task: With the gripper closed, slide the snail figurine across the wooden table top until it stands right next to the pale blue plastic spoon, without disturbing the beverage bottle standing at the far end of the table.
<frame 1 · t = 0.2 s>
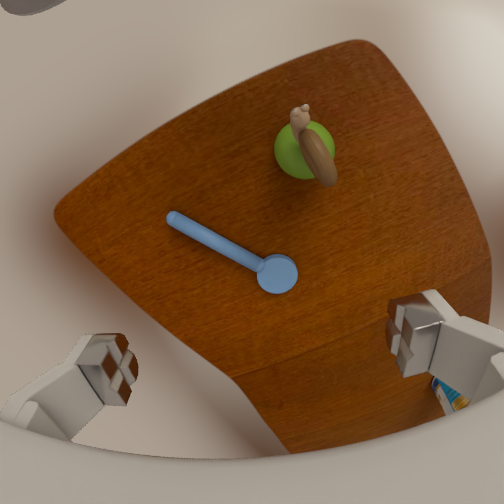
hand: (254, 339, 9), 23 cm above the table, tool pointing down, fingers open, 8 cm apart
blue spoon: (241, 252, 33), on the table
beverage bottle: (449, 373, 42), on the table
snail figurine: (297, 143, 28), on the table
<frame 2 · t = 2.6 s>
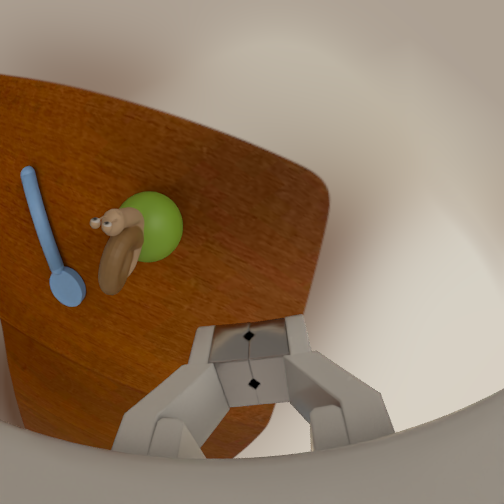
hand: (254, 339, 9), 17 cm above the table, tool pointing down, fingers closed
blue spoon: (54, 246, 26), on the table
snail figurine: (160, 210, 25), on the table
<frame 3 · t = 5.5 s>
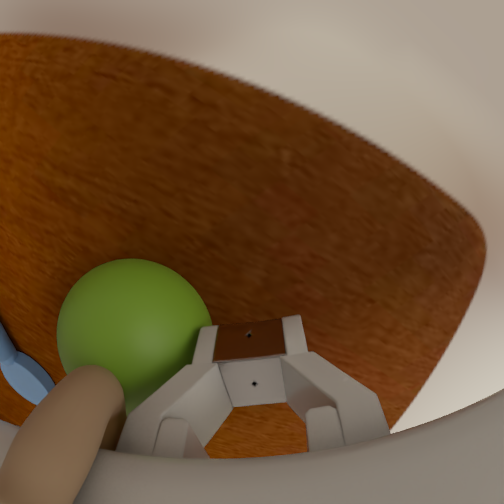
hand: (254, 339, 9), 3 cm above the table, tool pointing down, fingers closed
snail figurine: (159, 285, 12), on the table, touching gripper
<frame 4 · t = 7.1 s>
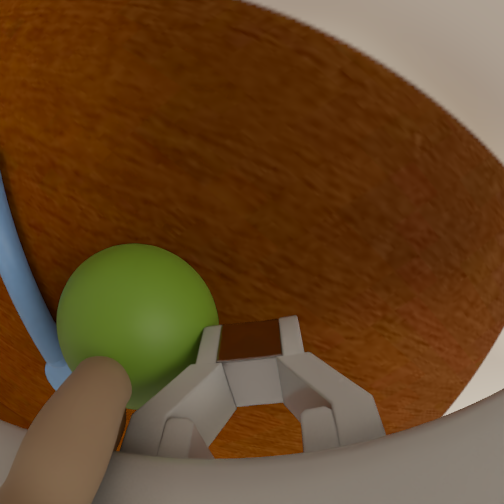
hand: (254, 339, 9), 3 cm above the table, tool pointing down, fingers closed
blue spoon: (46, 314, 13), on the table
snail figurine: (167, 274, 12), on the table, touching gripper
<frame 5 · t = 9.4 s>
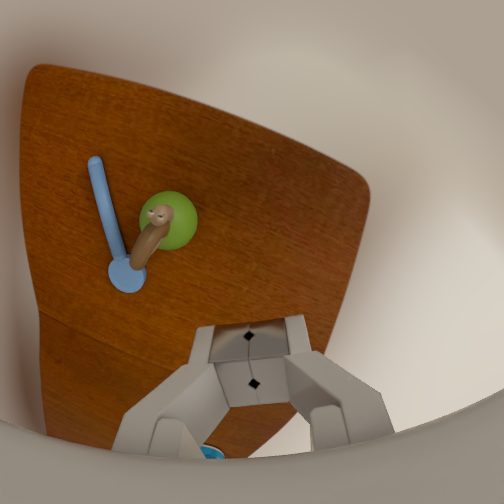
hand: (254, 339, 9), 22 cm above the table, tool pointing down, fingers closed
blue spoon: (116, 234, 30), on the table
beverage bottle: (202, 451, 47), on the table
snail figurine: (178, 208, 29), on the table
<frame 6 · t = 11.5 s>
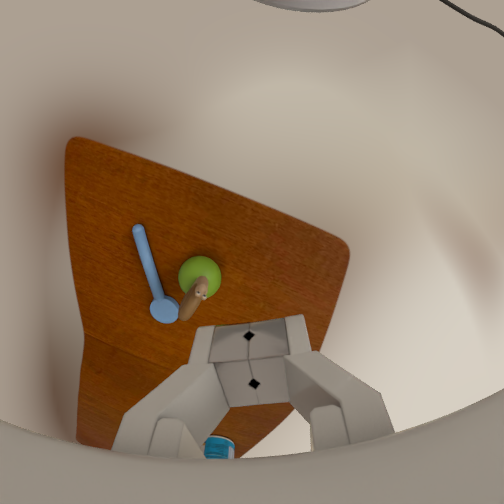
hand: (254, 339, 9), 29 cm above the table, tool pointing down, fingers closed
blue spoon: (156, 281, 41), on the table
beverage bottle: (216, 442, 58), on the table
snail figurine: (205, 264, 40), on the table
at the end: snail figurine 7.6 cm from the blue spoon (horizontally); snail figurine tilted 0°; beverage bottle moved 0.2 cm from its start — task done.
